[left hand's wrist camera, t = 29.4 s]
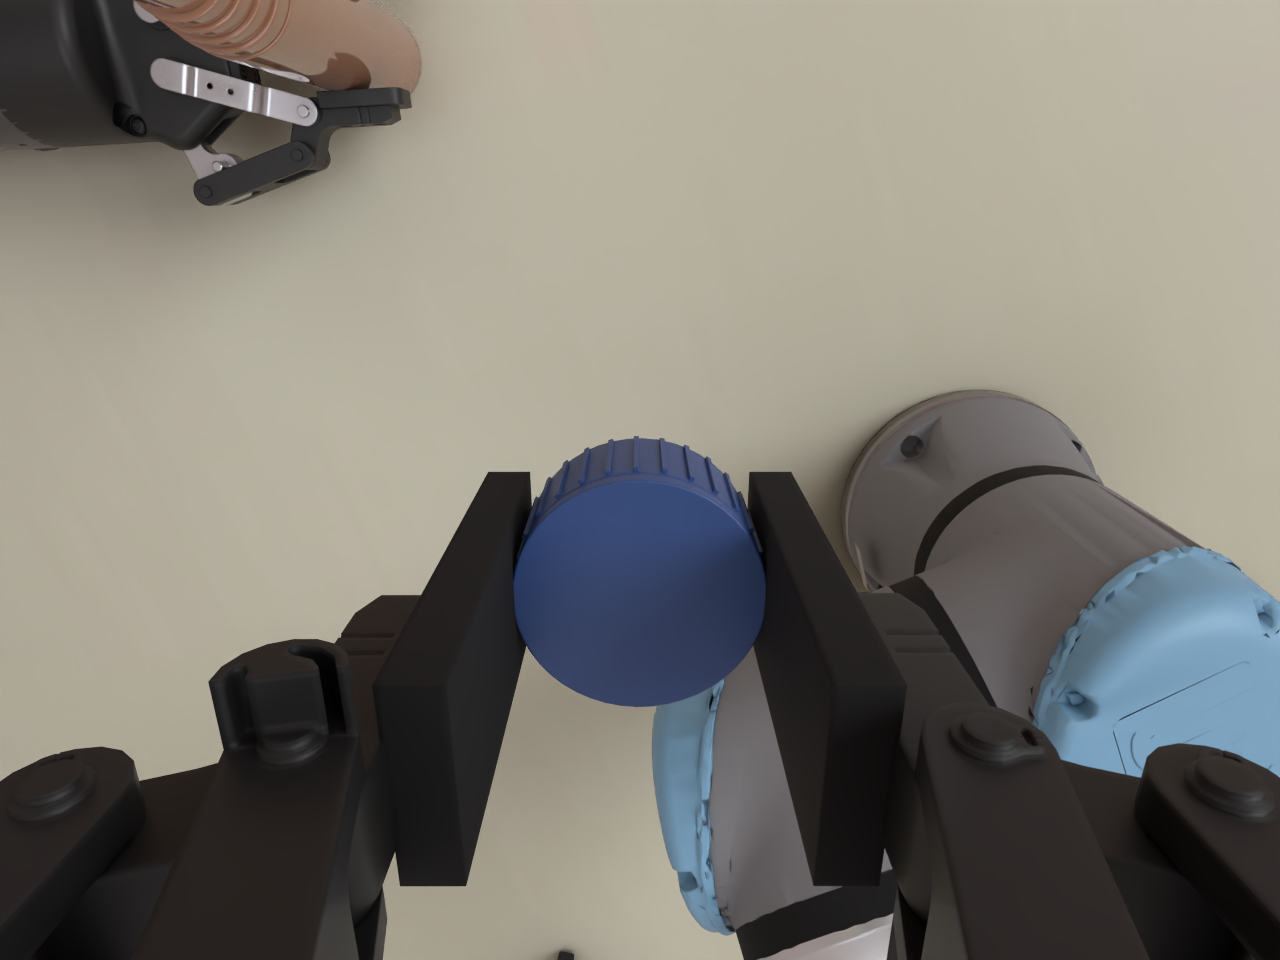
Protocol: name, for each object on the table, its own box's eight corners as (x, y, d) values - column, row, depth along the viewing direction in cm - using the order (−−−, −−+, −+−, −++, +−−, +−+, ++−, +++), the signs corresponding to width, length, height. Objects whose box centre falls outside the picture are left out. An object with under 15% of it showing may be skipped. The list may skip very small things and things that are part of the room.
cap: (529, 637, 15) (511, 707, 13) (523, 430, 14) (503, 472, 12) (743, 642, 15) (759, 713, 13) (760, 436, 14) (782, 480, 12)
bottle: (319, 63, 41) (-19, -68, 20) (368, -9, 40) (63, -231, 19) (389, 125, 42) (138, 63, 21) (438, 56, 41) (225, -83, 20)
